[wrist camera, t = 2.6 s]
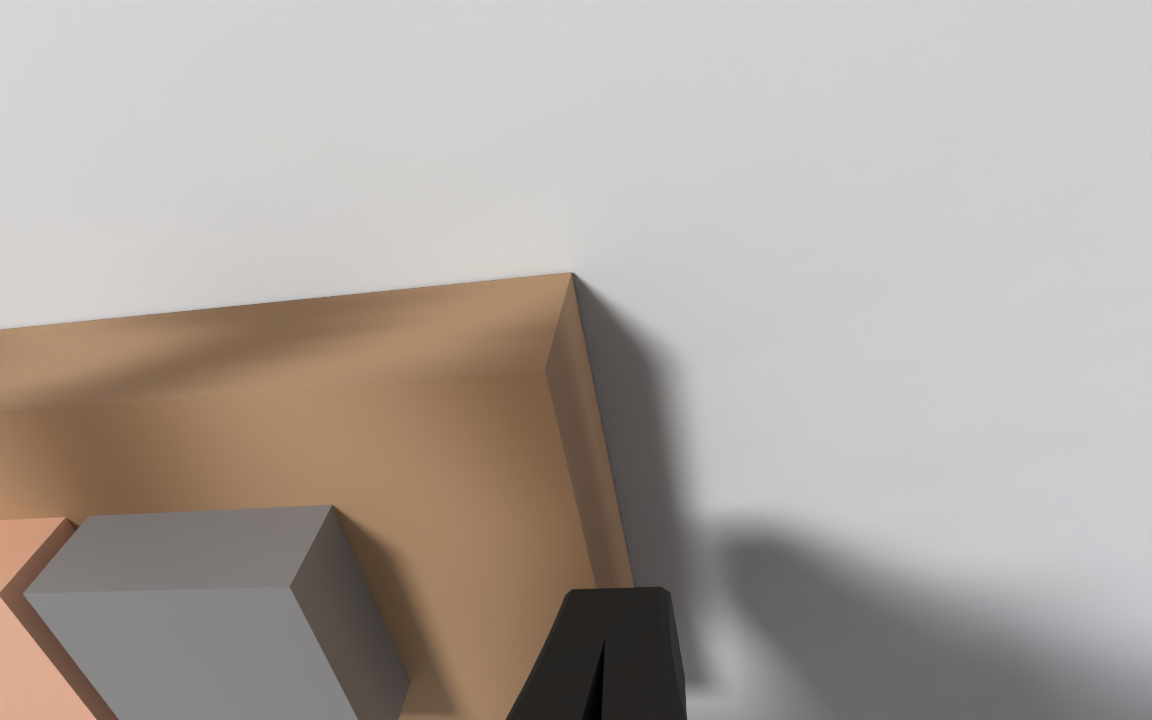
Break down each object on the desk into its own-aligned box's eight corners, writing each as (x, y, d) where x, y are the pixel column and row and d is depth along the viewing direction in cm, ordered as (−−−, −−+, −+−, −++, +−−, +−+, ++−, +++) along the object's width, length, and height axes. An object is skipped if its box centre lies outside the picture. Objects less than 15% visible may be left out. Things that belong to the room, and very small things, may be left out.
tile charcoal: (332, 504, 12) (289, 587, 11) (410, 682, 14) (383, 767, 13) (88, 515, 13) (22, 593, 12) (197, 681, 15) (152, 762, 14)
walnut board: (571, 272, 12) (544, 369, 10) (644, 635, 17) (635, 755, 14) (-105, 339, 15) (-237, 429, 13) (110, 641, 19) (38, 745, 17)
